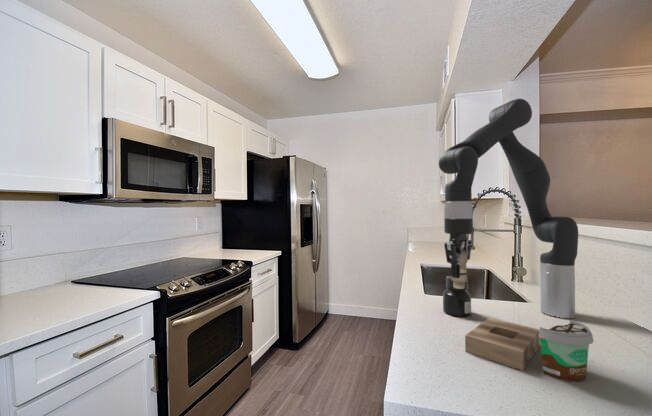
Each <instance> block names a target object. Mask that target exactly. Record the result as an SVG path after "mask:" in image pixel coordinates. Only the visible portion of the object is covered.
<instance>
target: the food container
mask: <svg viewBox="0 0 652 416" xmlns="http://www.w3.org/2000/svg"><path fill="white" fill-rule="evenodd" d="M539 329H540V330H539V335H538V337H540V340H541V345H540V350H541V351H540V352H541V363H542V364H541V368H542V374H543V373H544V374H543V375H545V376H548V375H549V376H548V377H551V378H554V379H557V380H560V381H561V380H562V381H565V380H566V382H572V381H575V382H574V383H580V382H584V381H586V380H587V372H588V371H587V370H588V359H589V350H590V349H589V348H590V345H591V344H593V343H594V337H593V333H592V332H591V329H590V328H589V327H588V326H587V325H585V324H583V323H581V322H579V321H576V320H573V319H570V320H569V323H567V324H565V325H559V324H558V325H554V326H553V327H551V328H549V329H548V328H545V327H541V326H539Z"/></svg>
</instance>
